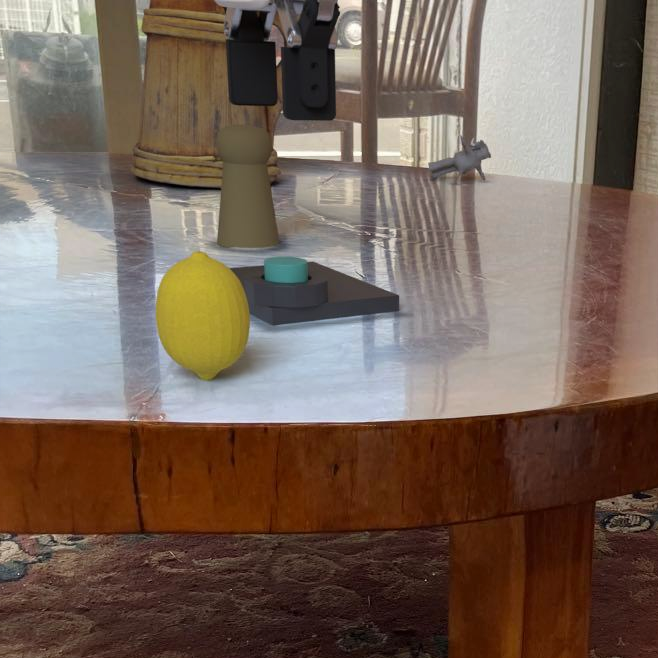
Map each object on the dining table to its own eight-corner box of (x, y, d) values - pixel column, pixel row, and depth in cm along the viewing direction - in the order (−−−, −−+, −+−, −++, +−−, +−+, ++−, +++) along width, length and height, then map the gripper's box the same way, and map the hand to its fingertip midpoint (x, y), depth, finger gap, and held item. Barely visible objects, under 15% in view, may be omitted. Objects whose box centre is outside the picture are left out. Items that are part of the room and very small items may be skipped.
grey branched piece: (441, 175, 168) (497, 157, 166) (445, 208, 166) (502, 190, 164) (415, 134, 159) (474, 114, 157) (419, 168, 157) (479, 149, 155)
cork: (204, 244, 108) (197, 124, 104) (238, 235, 114) (233, 120, 109) (259, 251, 107) (254, 130, 102) (291, 242, 112) (287, 126, 107)
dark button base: (269, 329, 82) (267, 288, 80) (188, 288, 92) (185, 251, 90) (403, 314, 88) (403, 276, 87) (313, 277, 98) (313, 242, 97)
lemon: (144, 388, 68) (132, 254, 64) (186, 364, 73) (177, 239, 69) (230, 398, 67) (222, 264, 64) (266, 373, 72) (261, 247, 68)
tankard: (140, 168, 153) (123, -36, 142) (315, 175, 158) (311, -22, 147) (123, 187, 137) (103, -41, 126) (318, 194, 142) (314, -25, 131)
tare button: (277, 287, 82) (276, 266, 82) (257, 278, 84) (256, 258, 84) (315, 283, 84) (315, 263, 84) (295, 275, 86) (295, 255, 86)
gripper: (159, -198, 69) (181, 99, 76) (258, -238, 56) (272, 126, 63) (276, -180, 72) (286, 101, 80) (394, -213, 59) (393, 127, 67)
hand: (280, 112), depth 71 cm, fingers open, 9 cm apart
